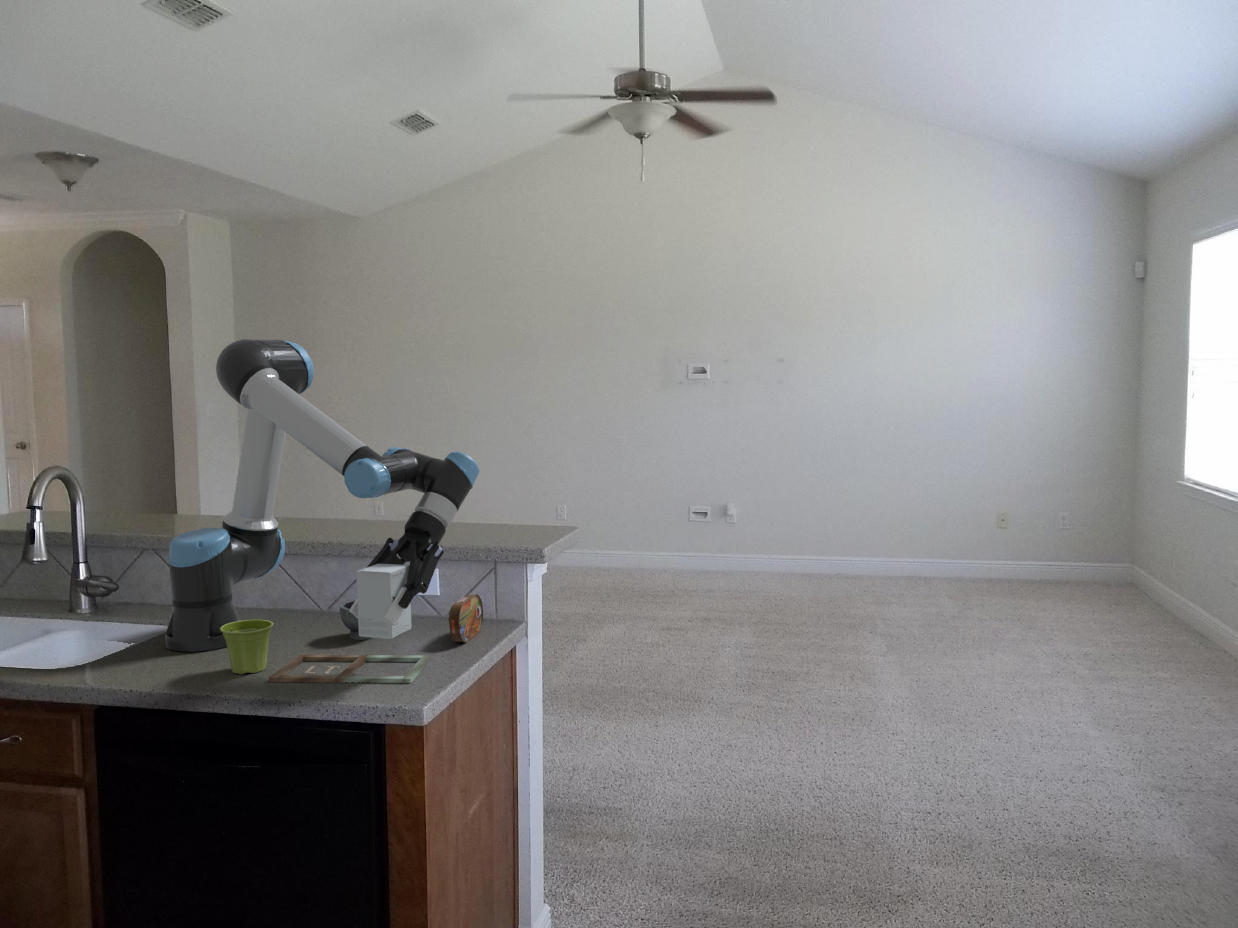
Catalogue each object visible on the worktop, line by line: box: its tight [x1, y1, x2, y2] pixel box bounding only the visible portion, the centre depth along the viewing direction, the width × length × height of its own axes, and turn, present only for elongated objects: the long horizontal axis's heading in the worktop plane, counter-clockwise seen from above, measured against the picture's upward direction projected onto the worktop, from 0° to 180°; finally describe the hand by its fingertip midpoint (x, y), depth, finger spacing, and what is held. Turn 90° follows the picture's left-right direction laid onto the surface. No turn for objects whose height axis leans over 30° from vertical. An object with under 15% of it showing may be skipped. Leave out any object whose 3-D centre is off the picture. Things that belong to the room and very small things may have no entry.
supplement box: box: [355, 564, 412, 640], centre depth 179 cm, size 7×7×13 cm
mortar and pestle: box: [339, 599, 373, 641], centre depth 205 cm, size 11×9×12 cm
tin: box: [448, 593, 484, 644], centre depth 203 cm, size 15×3×8 cm, turn 170°
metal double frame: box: [268, 654, 432, 684], centre depth 181 cm, size 26×14×1 cm, turn 86°
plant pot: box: [220, 619, 274, 675], centre depth 182 cm, size 9×9×9 cm
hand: (371, 618), depth 177 cm, fingers closed on supplement box, 9 cm apart
